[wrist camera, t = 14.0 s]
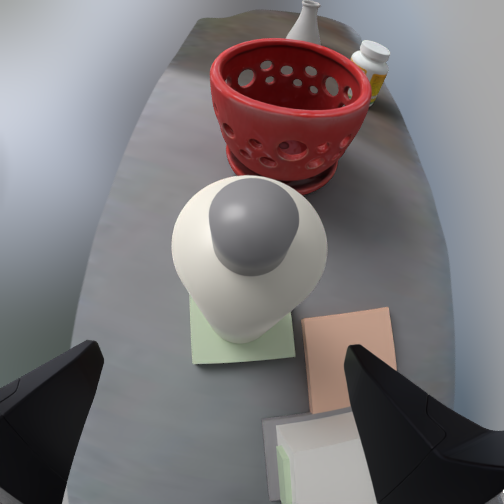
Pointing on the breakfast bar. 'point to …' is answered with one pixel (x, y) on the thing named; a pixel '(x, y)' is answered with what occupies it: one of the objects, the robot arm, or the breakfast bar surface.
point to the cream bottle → (248, 253)
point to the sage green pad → (221, 351)
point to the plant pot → (287, 110)
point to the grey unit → (316, 459)
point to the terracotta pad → (341, 352)
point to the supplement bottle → (372, 65)
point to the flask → (306, 24)
